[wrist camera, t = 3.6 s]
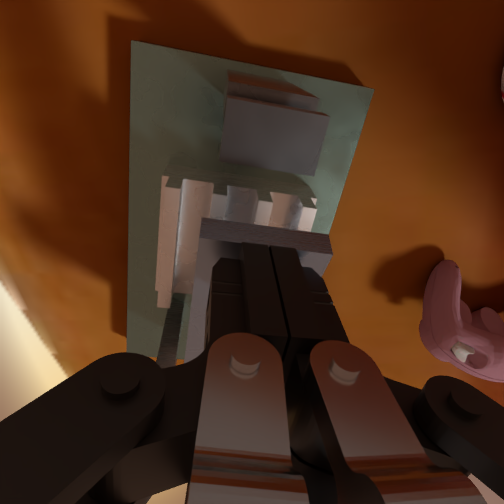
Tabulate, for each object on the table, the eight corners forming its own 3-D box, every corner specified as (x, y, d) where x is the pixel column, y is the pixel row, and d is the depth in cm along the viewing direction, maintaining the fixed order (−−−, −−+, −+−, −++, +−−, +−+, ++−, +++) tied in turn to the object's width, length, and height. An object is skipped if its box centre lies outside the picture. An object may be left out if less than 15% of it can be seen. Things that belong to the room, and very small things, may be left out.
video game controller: (400, 280, 28) (413, 369, 24) (445, 251, 25) (469, 349, 21) (495, 312, 31) (522, 397, 27) (549, 289, 27) (590, 384, 23)
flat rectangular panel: (334, 221, 11) (343, 256, 10) (250, 398, 20) (250, 424, 19) (192, 201, 10) (187, 236, 9) (175, 393, 20) (171, 420, 19)
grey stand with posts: (364, 86, 20) (480, 118, 11) (283, 353, 29) (309, 486, 20) (137, 40, 18) (52, 34, 9) (131, 340, 27) (86, 480, 19)
